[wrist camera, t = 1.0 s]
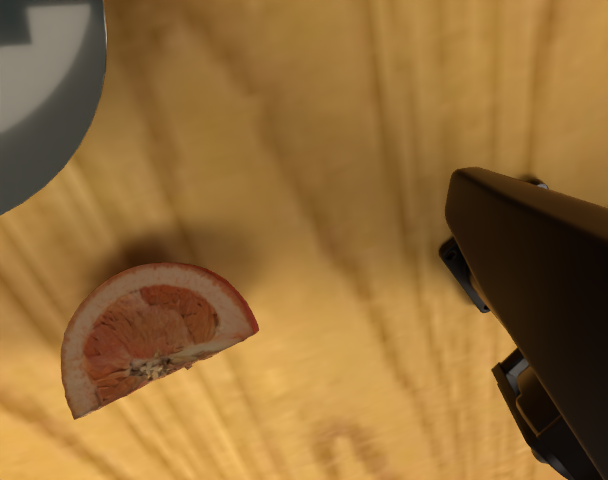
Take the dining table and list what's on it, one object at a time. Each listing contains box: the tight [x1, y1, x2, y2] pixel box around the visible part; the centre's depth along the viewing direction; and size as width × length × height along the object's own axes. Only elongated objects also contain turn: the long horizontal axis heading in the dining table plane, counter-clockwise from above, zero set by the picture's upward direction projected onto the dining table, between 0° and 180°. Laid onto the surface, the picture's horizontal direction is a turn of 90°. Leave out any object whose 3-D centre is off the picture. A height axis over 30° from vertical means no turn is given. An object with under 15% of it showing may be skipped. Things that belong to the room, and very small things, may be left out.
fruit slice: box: [61, 262, 259, 420], centre depth 25 cm, size 8×7×5 cm
